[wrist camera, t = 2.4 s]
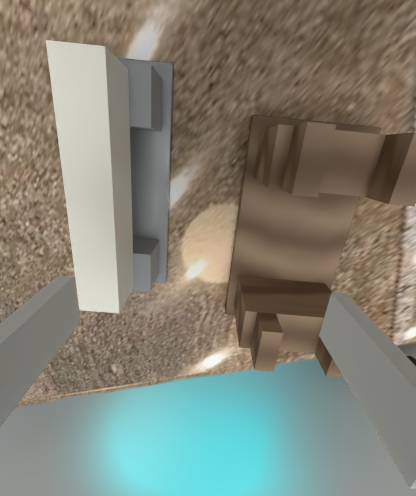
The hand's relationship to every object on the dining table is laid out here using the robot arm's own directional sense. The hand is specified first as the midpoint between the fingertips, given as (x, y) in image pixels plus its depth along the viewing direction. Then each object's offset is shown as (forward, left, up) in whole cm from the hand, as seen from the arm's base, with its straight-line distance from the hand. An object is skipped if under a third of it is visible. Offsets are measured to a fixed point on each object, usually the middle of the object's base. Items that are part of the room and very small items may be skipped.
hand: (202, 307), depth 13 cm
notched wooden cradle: (+2, +11, -21) cm, 24 cm away
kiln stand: (-2, -10, -21) cm, 23 cm away
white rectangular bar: (-2, -10, -15) cm, 18 cm away
